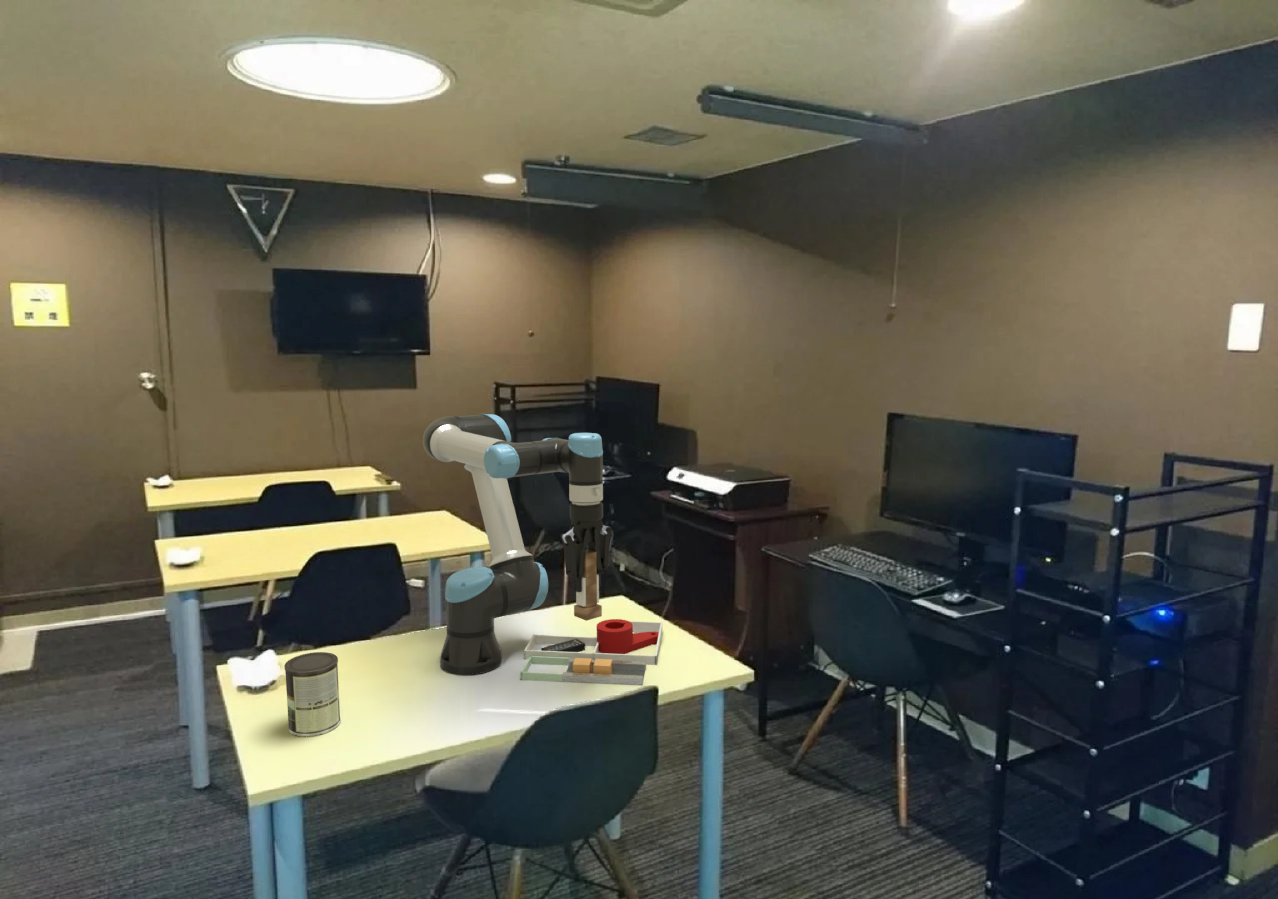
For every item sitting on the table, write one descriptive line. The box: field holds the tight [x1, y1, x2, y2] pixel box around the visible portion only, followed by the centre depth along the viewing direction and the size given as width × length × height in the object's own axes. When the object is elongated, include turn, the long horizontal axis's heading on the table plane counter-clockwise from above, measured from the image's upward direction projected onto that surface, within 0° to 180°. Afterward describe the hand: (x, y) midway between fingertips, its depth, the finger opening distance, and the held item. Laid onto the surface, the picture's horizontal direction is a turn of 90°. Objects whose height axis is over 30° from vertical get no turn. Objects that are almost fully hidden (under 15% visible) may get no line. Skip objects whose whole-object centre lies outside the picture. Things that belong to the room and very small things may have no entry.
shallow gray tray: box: [562, 659, 647, 686], centre depth 191 cm, size 19×10×2 cm, turn 85°
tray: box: [519, 656, 570, 682], centre depth 193 cm, size 10×10×2 cm
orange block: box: [593, 659, 612, 674], centre depth 191 cm, size 4×4×3 cm
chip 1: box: [573, 658, 592, 673], centre depth 192 cm, size 4×4×3 cm
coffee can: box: [283, 651, 342, 738], centre depth 166 cm, size 10×10×14 cm
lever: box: [596, 618, 659, 654], centre depth 209 cm, size 18×9×7 cm, turn 117°
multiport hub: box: [540, 639, 586, 652], centre depth 205 cm, size 4×11×2 cm, turn 128°
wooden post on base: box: [573, 549, 603, 622], centre depth 181 cm, size 4×4×15 cm
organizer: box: [523, 620, 663, 666], centre depth 211 cm, size 34×24×3 cm
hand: (587, 602), depth 182 cm, fingers closed on wooden post on base, 3 cm apart
